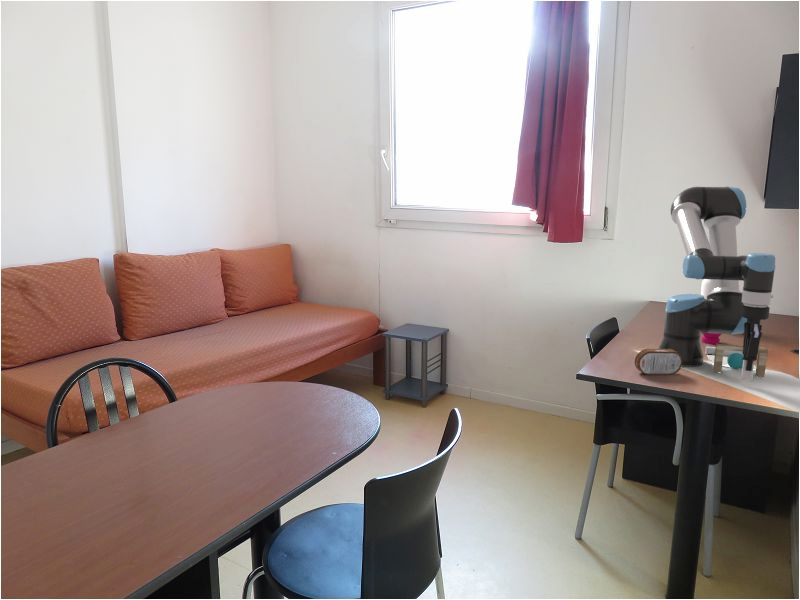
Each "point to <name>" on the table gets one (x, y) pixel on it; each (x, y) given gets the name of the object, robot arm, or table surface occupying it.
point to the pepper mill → (711, 338)
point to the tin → (658, 361)
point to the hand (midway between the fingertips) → (746, 379)
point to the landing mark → (711, 357)
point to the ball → (735, 360)
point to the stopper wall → (726, 353)
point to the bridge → (721, 347)
